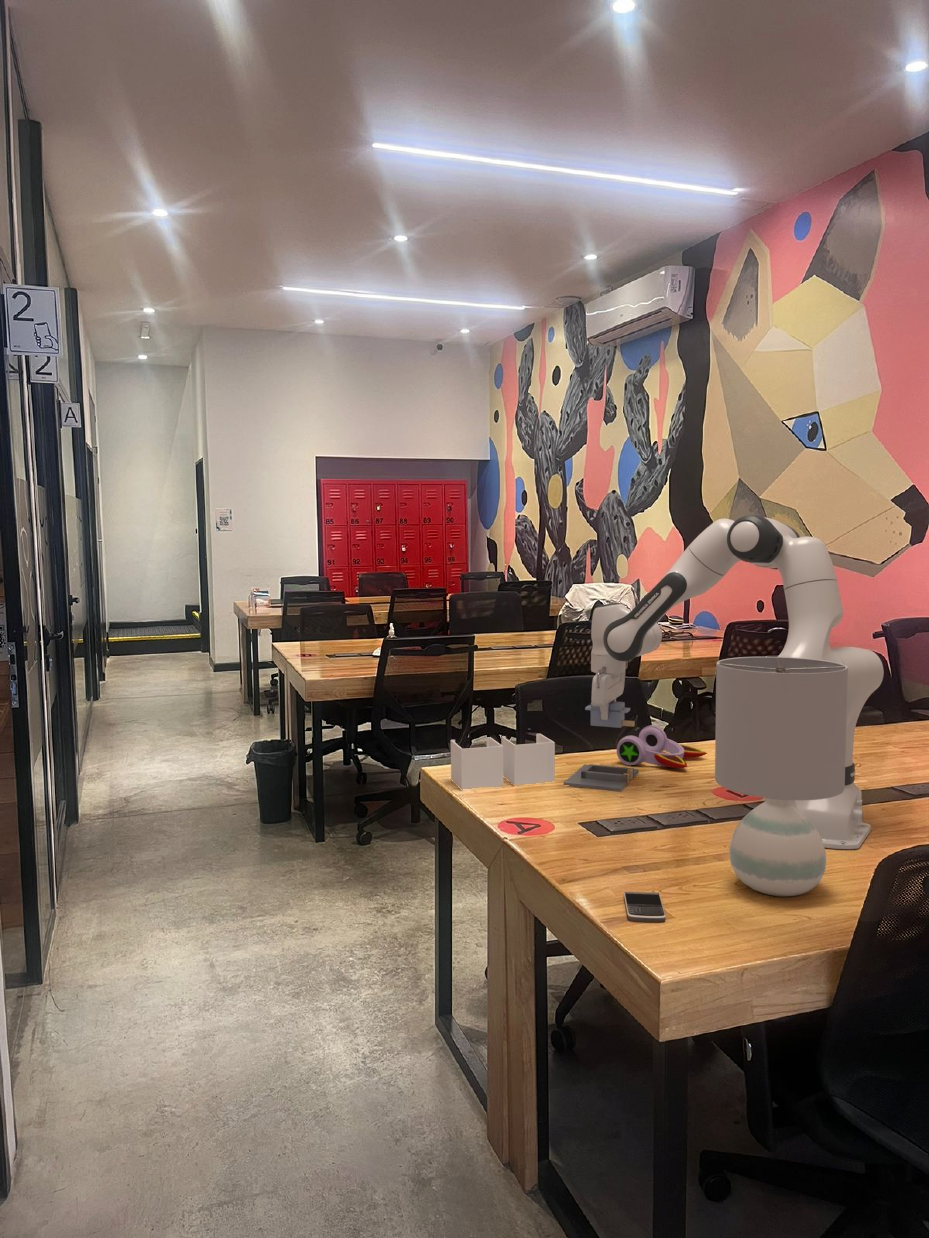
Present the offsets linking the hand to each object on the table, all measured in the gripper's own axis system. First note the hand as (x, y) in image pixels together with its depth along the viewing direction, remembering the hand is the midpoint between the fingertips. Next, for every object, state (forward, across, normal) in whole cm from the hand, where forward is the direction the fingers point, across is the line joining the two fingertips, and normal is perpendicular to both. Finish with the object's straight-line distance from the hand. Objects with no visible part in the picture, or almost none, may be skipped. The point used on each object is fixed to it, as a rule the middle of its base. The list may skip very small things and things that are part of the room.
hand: (607, 717), depth 229 cm
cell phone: (+16, -78, -26) cm, 84 cm away
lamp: (+16, -60, -46) cm, 78 cm away
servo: (+2, 0, 0) cm, 2 cm away
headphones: (+17, +24, -10) cm, 31 cm away
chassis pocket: (+17, 0, +1) cm, 17 cm away
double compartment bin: (+17, -12, +25) cm, 33 cm away
